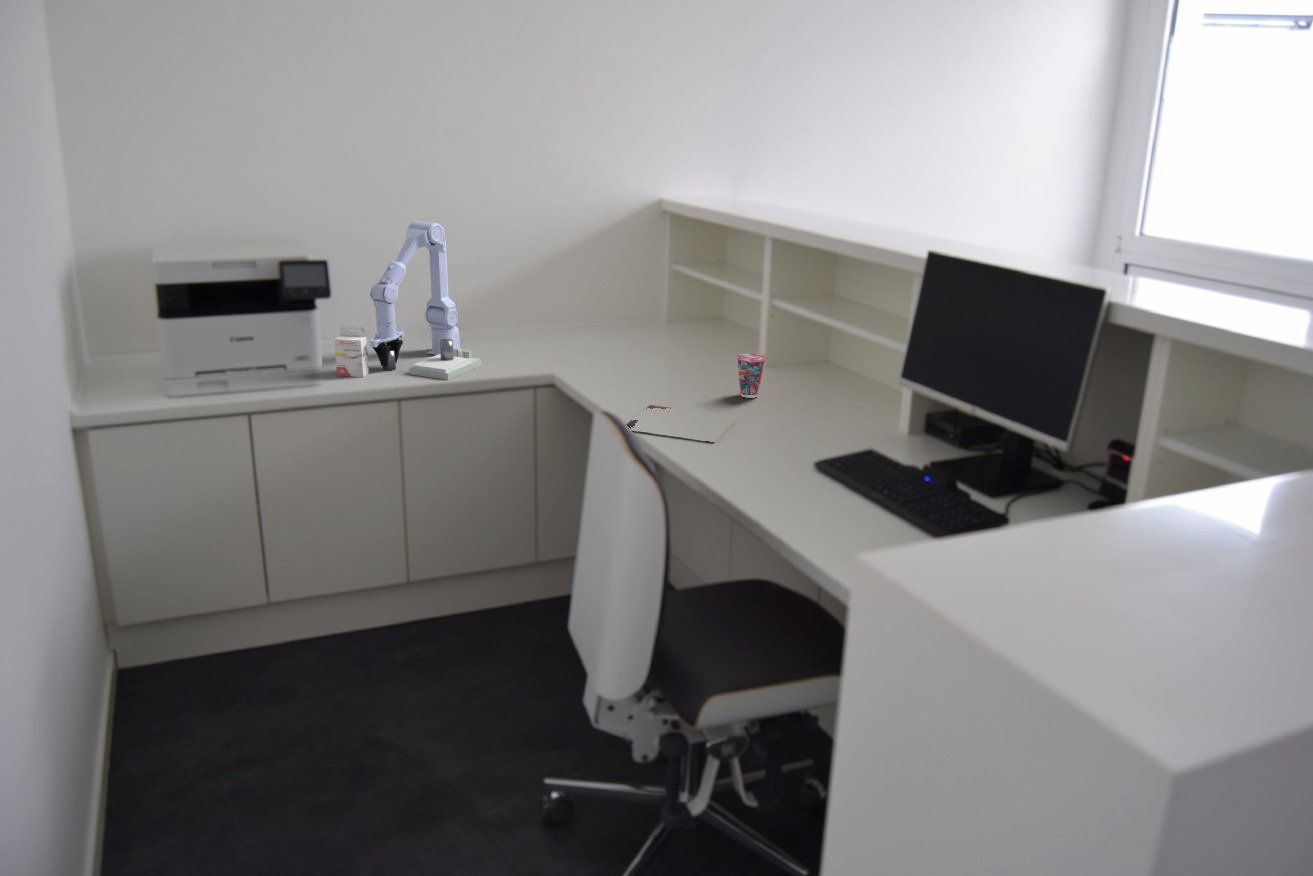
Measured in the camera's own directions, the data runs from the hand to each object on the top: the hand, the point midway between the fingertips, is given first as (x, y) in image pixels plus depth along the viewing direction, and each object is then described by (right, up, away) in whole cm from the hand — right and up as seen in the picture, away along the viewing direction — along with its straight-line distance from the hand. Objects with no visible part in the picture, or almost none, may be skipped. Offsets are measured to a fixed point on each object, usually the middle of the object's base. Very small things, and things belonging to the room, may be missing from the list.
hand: (389, 364), depth 312 cm
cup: (+111, -11, -18) cm, 113 cm away
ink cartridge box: (-9, -4, -6) cm, 12 cm away
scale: (+18, -1, +2) cm, 18 cm away
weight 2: (+18, +2, +2) cm, 18 cm away
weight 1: (0, -1, 0) cm, 1 cm away
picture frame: (+90, -20, -44) cm, 102 cm away
